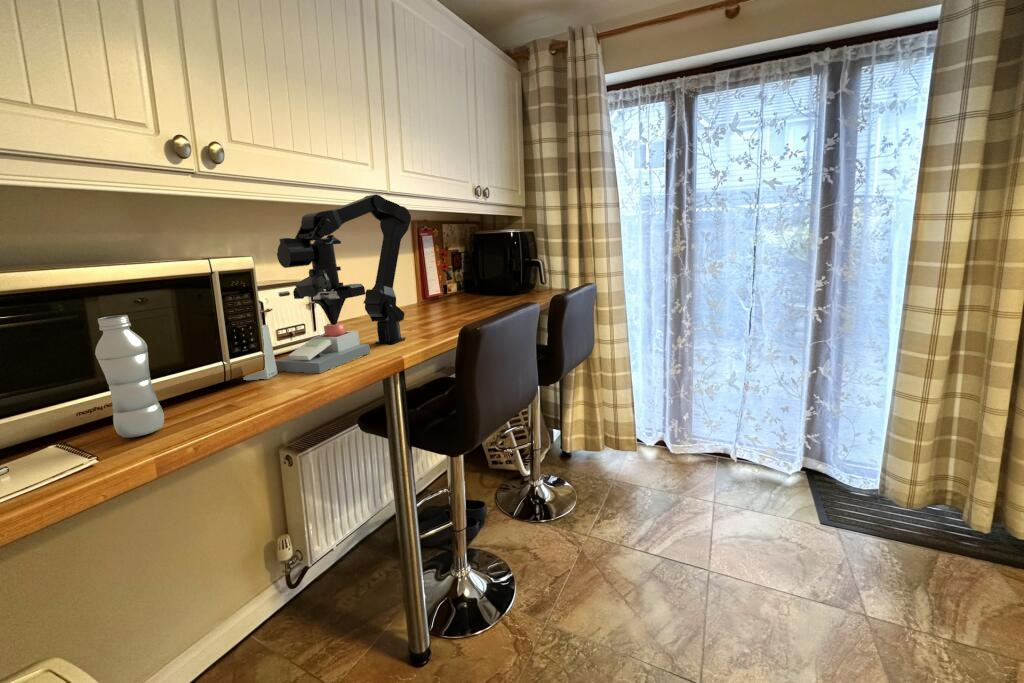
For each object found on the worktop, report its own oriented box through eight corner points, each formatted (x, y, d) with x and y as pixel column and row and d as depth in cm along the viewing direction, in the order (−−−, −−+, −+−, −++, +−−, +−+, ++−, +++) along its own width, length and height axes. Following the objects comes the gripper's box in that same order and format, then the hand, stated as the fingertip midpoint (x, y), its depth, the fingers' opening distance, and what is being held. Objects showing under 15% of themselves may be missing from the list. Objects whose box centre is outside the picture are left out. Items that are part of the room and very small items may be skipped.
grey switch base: (329, 352, 130) (325, 330, 129) (370, 353, 125) (367, 331, 124) (275, 371, 114) (271, 346, 113) (320, 373, 109) (315, 348, 108)
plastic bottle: (115, 436, 79) (83, 319, 75) (164, 423, 84) (136, 312, 80) (120, 446, 75) (85, 322, 70) (171, 431, 79) (141, 314, 75)
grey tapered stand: (278, 374, 111) (269, 324, 108) (267, 379, 107) (257, 328, 104) (254, 375, 112) (244, 325, 109) (242, 381, 108) (232, 329, 105)
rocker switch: (313, 343, 120) (311, 338, 119) (331, 343, 118) (329, 339, 117) (290, 359, 113) (288, 354, 113) (309, 360, 111) (307, 355, 110)
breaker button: (335, 336, 126) (333, 323, 125) (350, 336, 124) (348, 323, 124) (321, 340, 122) (319, 327, 121) (336, 340, 120) (334, 327, 119)
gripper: (270, 268, 115) (282, 331, 119) (330, 265, 108) (340, 331, 112) (305, 264, 125) (315, 322, 129) (362, 261, 118) (371, 322, 122)
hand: (334, 324), depth 122 cm, fingers closed
